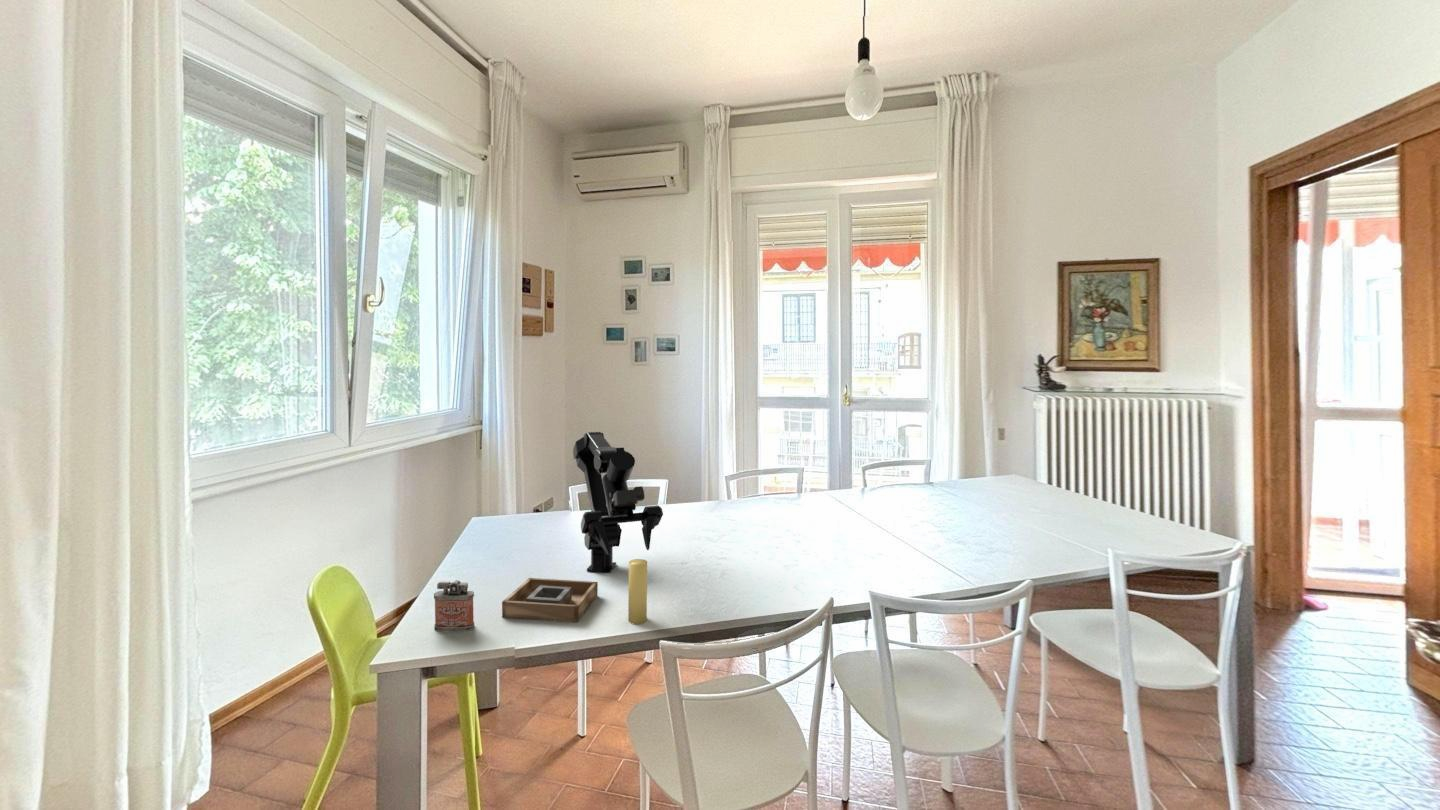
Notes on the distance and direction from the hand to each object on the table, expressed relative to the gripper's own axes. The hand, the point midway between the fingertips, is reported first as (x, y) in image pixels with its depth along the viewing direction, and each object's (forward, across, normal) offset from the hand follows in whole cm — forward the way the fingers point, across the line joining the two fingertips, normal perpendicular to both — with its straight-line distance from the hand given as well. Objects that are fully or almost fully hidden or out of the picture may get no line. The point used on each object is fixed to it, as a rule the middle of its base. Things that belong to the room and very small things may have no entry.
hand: (628, 551), depth 133 cm
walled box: (+4, -16, +14) cm, 22 cm away
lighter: (+7, -36, +12) cm, 39 cm away
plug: (+14, 0, +4) cm, 15 cm away
